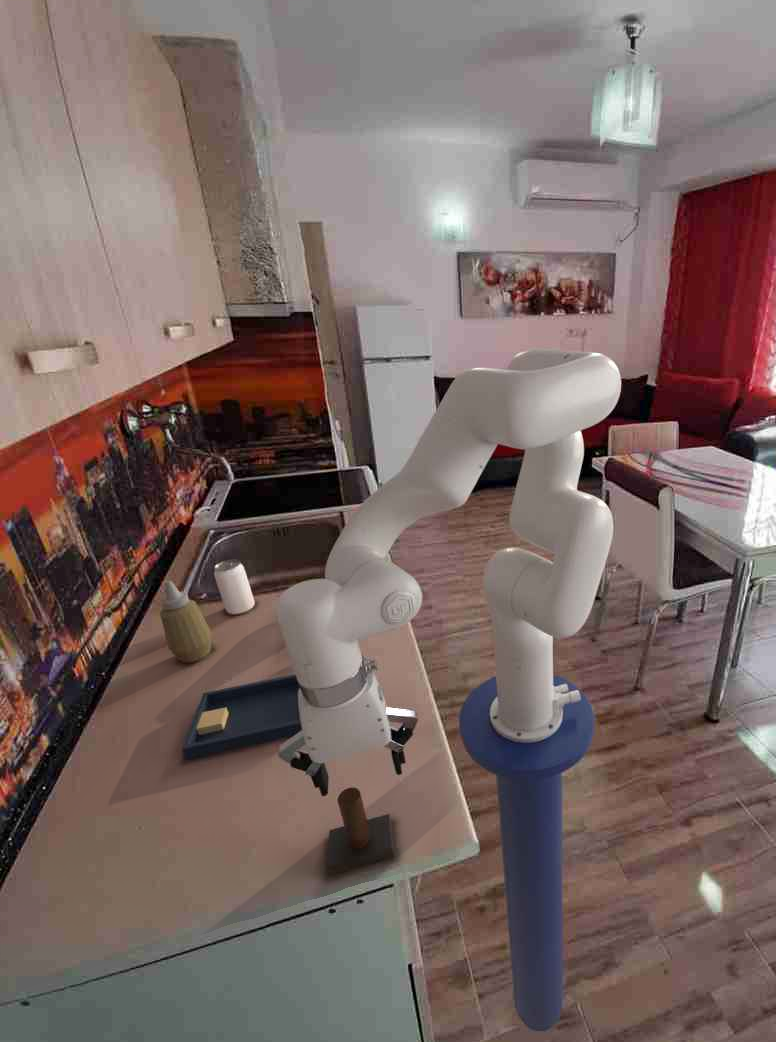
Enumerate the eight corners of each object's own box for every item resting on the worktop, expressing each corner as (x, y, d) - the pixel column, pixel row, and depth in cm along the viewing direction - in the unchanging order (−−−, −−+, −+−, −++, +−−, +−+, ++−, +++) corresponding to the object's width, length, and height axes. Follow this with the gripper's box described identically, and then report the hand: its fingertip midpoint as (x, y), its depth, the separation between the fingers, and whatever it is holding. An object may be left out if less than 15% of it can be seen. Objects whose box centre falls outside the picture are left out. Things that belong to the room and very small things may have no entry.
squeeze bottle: (218, 639, 113) (193, 568, 106) (214, 660, 107) (187, 586, 99) (177, 649, 111) (149, 577, 103) (171, 671, 104) (139, 596, 96)
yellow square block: (228, 713, 91) (226, 707, 91) (223, 729, 88) (221, 723, 87) (204, 718, 91) (202, 712, 90) (198, 735, 87) (196, 728, 86)
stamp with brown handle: (391, 823, 71) (380, 772, 67) (394, 857, 67) (382, 805, 62) (332, 839, 69) (316, 788, 65) (331, 875, 65) (314, 823, 61)
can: (256, 598, 129) (243, 556, 124) (253, 611, 123) (240, 568, 118) (228, 604, 127) (214, 561, 122) (224, 617, 121) (209, 573, 116)
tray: (316, 680, 99) (313, 670, 98) (311, 731, 87) (308, 720, 86) (207, 703, 95) (203, 692, 94) (186, 760, 83) (181, 749, 82)
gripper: (403, 643, 65) (423, 738, 73) (261, 675, 62) (297, 771, 70) (409, 681, 59) (430, 781, 67) (251, 720, 56) (292, 821, 63)
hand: (362, 776), depth 68 cm, fingers open, 9 cm apart
